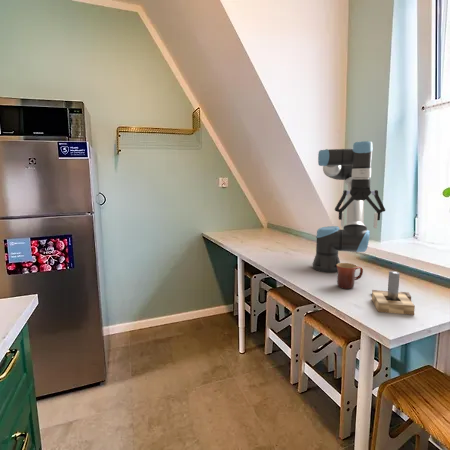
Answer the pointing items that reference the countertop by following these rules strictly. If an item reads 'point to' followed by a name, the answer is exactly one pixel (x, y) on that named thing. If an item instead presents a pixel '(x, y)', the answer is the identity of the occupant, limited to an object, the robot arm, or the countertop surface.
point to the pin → (393, 286)
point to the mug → (347, 275)
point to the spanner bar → (398, 292)
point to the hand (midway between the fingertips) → (358, 227)
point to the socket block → (393, 303)
